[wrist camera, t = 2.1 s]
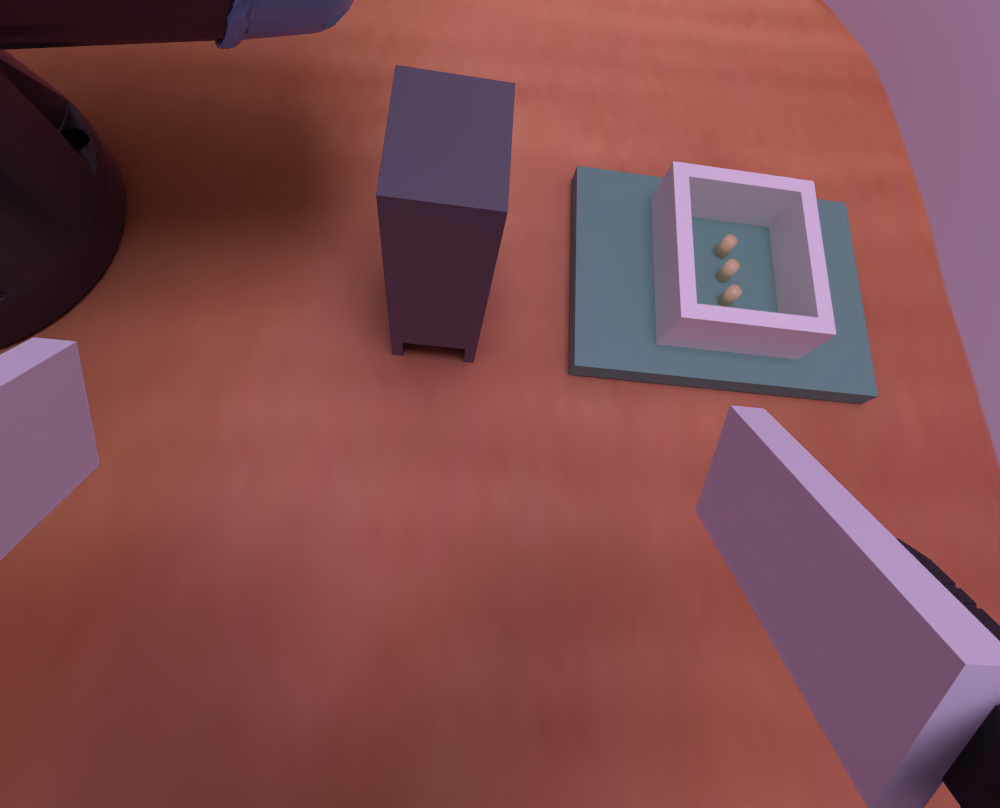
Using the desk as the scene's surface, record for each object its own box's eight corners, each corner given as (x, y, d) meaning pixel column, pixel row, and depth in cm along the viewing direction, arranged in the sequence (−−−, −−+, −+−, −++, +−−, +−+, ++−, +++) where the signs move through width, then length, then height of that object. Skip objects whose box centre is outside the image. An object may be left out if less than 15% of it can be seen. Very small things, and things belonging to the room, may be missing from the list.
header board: (568, 374, 30) (591, 339, 26) (571, 180, 34) (592, 124, 30) (861, 404, 32) (924, 375, 28) (831, 215, 36) (883, 167, 32)
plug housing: (392, 354, 29) (376, 195, 18) (403, 262, 31) (395, 65, 20) (473, 362, 30) (507, 211, 18) (480, 271, 31) (515, 83, 20)
